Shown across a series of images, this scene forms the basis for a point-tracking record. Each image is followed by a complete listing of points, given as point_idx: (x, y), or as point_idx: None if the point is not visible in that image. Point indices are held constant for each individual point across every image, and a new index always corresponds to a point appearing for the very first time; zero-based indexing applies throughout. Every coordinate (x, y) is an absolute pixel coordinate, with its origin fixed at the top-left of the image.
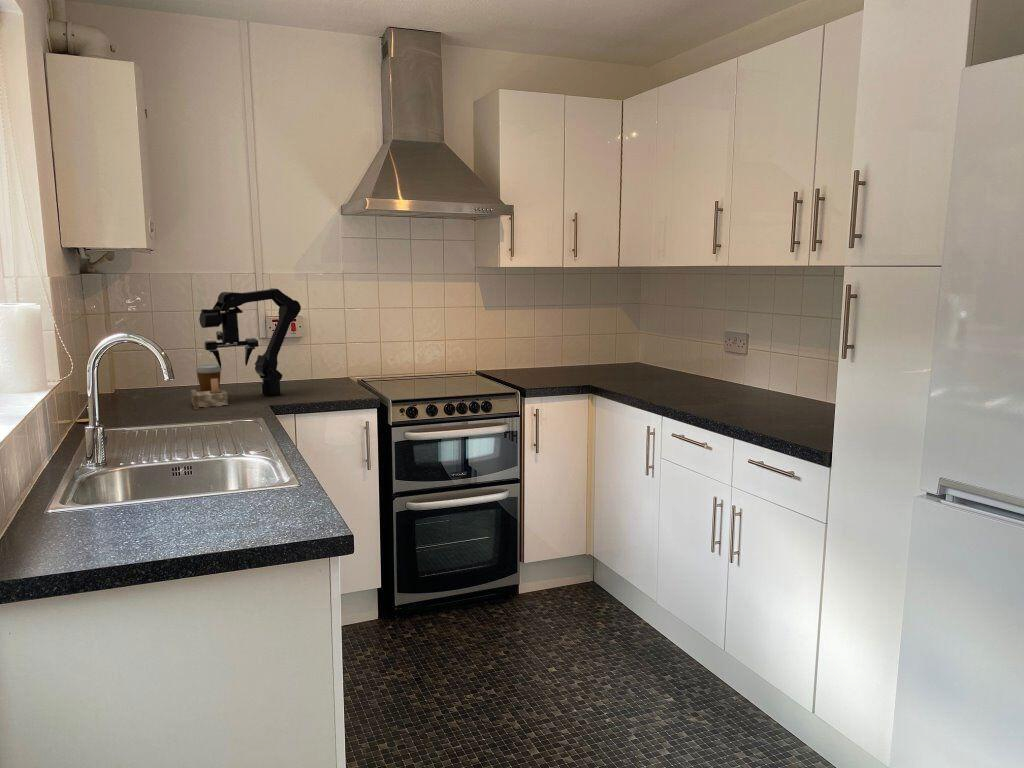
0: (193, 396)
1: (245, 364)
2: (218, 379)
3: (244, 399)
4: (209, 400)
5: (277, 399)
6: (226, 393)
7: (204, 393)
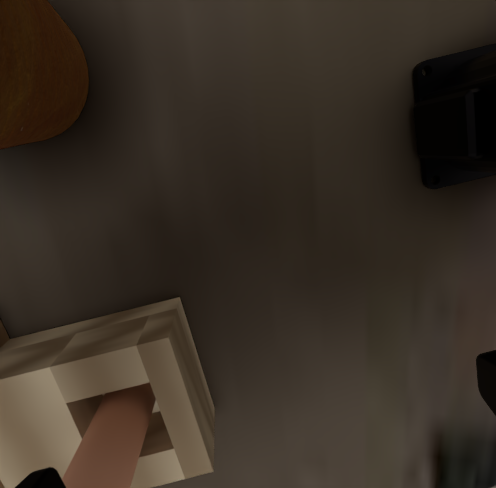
0: None
1: (493, 393)
2: (26, 85)
3: (294, 248)
4: None
5: (488, 288)
6: (209, 470)
7: (45, 452)
